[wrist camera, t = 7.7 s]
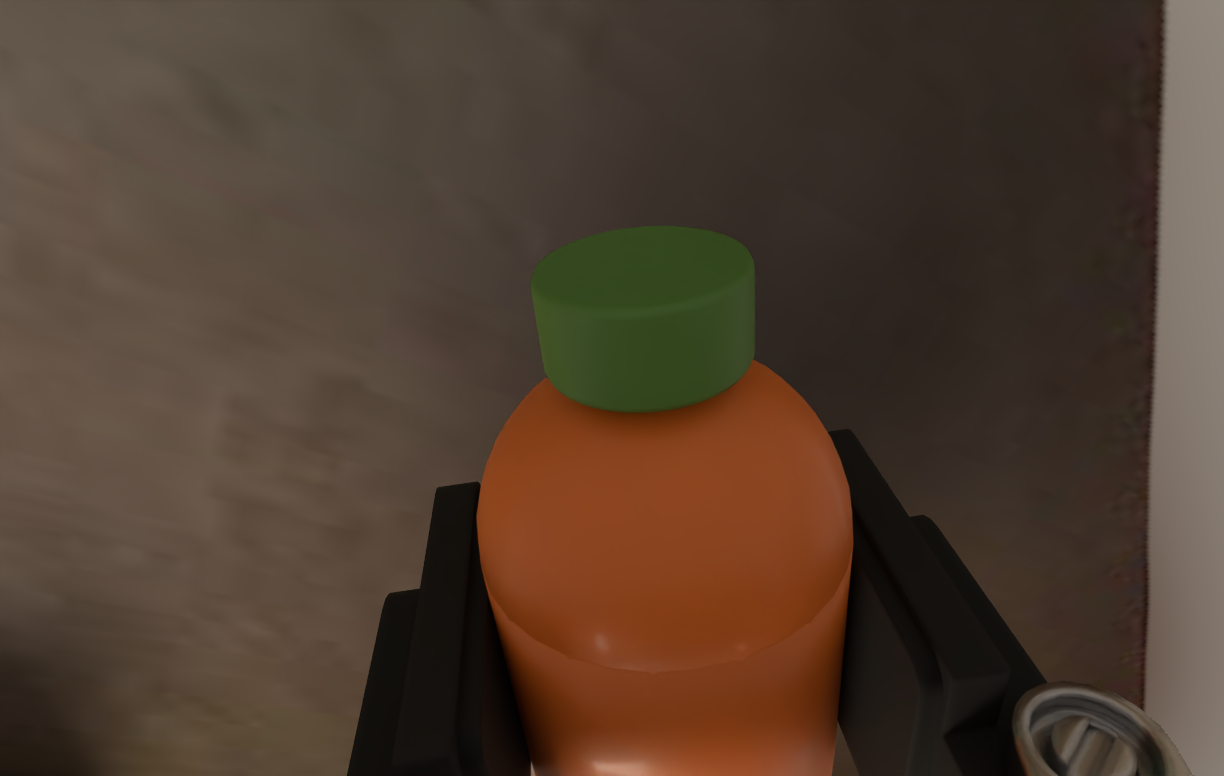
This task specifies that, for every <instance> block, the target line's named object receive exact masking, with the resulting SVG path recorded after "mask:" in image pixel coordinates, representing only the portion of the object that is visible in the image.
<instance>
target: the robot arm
mask: <svg viewBox="0 0 1224 776" xmlns="http://www.w3.org/2000/svg"><path fill="white" fill-rule="evenodd" d="M828 434H829V435H830V437H831V439H832V441H833V443H834V446H835V448H836V450H837V453H838V455H839V457H840V460H841V463H842V466H843V469H844V472H845V475H846V479H847V482H848V485H849V489H850V498H851V507H852V522H853V553H852V564H851V575H850V586H849V597H848V608H847V619H846V630H845V641H844V652H843V663H842V674H841V685H840V697H839V708H838V719H837V720H838V722H839V725H840V727H841V730H842V732H843V735H844V737H845V740H846V742H847V745H848V747H849V750H850V752H851V755H852V757H853V760H854V762H855V765H856V767H857V770H858V772H859V775H860V776H1193V775H1192V773H1191V771H1190V770H1189V768H1188V766H1187V765H1186V763H1185V761H1184V759H1183V758H1182V756H1181V754H1180V753H1179V751H1178V749H1177V748H1176V746H1175V745H1174V743H1173V742H1172V741H1171V739H1170V738H1169V737H1168V736H1167V734H1166V733H1165V732H1164V730H1163V729H1162V728H1161V726H1160V725H1159V724H1158V723H1156V722H1155V721H1154V720H1153V719H1152V718H1150V717H1149V716H1148V715H1147V714H1146V713H1145V712H1143V711H1142V710H1141V709H1140V708H1139V707H1137V706H1136V705H1134V704H1132V703H1130V702H1128V701H1127V700H1125V699H1123V698H1121V697H1120V696H1118V695H1116V694H1114V693H1112V692H1109V691H1106V690H1103V689H1101V688H1098V687H1095V686H1092V685H1089V684H1083V683H1075V682H1067V681H1060V682H1052V683H1047V681H1046V680H1045V679H1044V677H1043V676H1042V674H1041V673H1040V672H1039V670H1038V669H1037V667H1036V666H1035V664H1034V663H1033V662H1032V660H1031V659H1030V657H1029V656H1028V654H1027V653H1026V652H1025V650H1024V649H1023V647H1022V646H1021V645H1020V643H1019V642H1018V640H1017V639H1016V637H1015V636H1014V635H1013V633H1012V632H1011V630H1010V629H1009V627H1008V626H1007V625H1006V623H1005V622H1004V620H1003V619H1002V618H1001V616H1000V615H999V613H998V612H997V610H996V609H995V608H994V606H993V605H992V603H991V602H990V601H989V599H988V598H987V596H986V595H985V593H984V592H983V591H982V589H981V588H980V586H979V585H978V583H977V582H976V581H975V579H974V578H973V576H972V575H971V574H970V572H969V571H968V569H967V568H966V566H965V565H964V564H963V562H962V561H961V559H960V558H959V557H958V555H957V554H956V552H955V551H954V549H953V548H952V547H951V545H950V544H949V542H948V541H947V539H946V538H945V537H944V535H943V534H942V532H941V531H940V530H939V528H938V527H937V526H936V524H935V523H934V522H933V521H932V520H931V519H930V518H928V517H926V516H924V515H919V516H913V517H909V516H908V514H907V513H906V511H905V510H904V508H903V507H902V505H901V504H900V502H899V501H898V499H897V498H896V496H895V495H894V493H893V492H892V490H891V489H890V487H889V486H888V484H887V483H886V481H885V480H884V478H883V477H882V475H881V474H880V472H879V471H878V469H877V468H876V466H875V465H874V463H873V462H872V460H871V459H870V457H869V456H868V454H867V453H866V451H865V450H864V448H863V447H862V445H861V444H860V442H859V441H858V439H857V438H856V436H855V435H854V433H853V432H852V431H851V430H849V429H844V430H837V431H830V432H828ZM480 488H481V485H480V483H479V482H471V483H464V484H457V485H450V486H443V487H438V488H437V490H436V493H435V499H434V505H433V512H432V518H431V524H430V530H429V536H428V542H427V549H426V555H425V561H424V567H423V573H422V580H421V586H420V589H414V590H408V591H401V592H394V593H389V595H388V596H387V597H386V599H385V602H384V606H383V609H382V614H381V618H380V623H379V628H378V632H377V637H376V642H375V646H374V651H373V656H372V661H371V665H370V670H369V675H368V679H367V684H366V689H365V693H364V698H363V703H362V707H361V712H360V717H359V721H358V726H357V731H356V736H355V740H354V745H353V750H352V754H351V759H350V764H349V768H348V773H347V776H535V774H534V770H533V766H532V762H531V758H530V754H529V751H528V747H527V743H526V739H525V735H524V731H523V727H522V723H521V720H520V716H519V712H518V708H517V704H516V700H515V696H514V693H513V689H512V685H511V681H510V677H509V673H508V669H507V665H506V662H505V658H504V654H503V650H502V646H501V642H500V638H499V634H498V631H497V627H496V623H495V619H494V615H493V611H492V607H491V603H490V600H489V596H488V592H487V588H486V584H485V580H484V576H483V572H482V568H481V562H480V552H479V543H478V531H477V510H478V502H479V495H480Z"/></svg>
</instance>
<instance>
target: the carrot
mask: <svg viewBox="0 0 1224 776" xmlns="http://www.w3.org/2000/svg"><path fill="white" fill-rule="evenodd" d="M530 288H531V294H532V300H533V306H534V312H535V318H536V324H537V330H538V336H539V342H540V348H541V354H542V359H543V365H544V371H545V373H546V375H547V378H545V379H544V380H543V381H541V382H540V383H539V384H537V385H536V386H535V387H534V388H533V389H532V390H531V391H530V392H529V393H528V395H527V396H526V397H525V398H524V399H523V400H522V402H521V403H520V404H519V405H518V407H517V408H516V409H515V411H514V412H513V413H512V415H511V416H510V417H509V419H508V420H507V421H506V423H505V425H504V427H503V428H502V430H501V432H500V434H499V436H498V437H497V439H496V442H495V444H494V447H493V449H492V451H491V454H490V456H489V459H488V461H487V464H486V466H485V470H484V475H483V479H482V483H481V488H480V495H479V502H478V510H477V531H478V543H479V552H480V562H481V568H482V572H483V576H484V580H485V584H486V588H487V592H488V596H489V600H490V603H491V607H492V611H493V615H494V619H495V623H496V627H497V631H498V634H499V638H500V642H501V646H502V650H503V654H504V658H505V662H506V665H507V669H508V673H509V677H510V681H511V685H512V689H513V693H514V696H515V700H516V704H517V708H518V712H519V716H520V720H521V723H522V727H523V731H524V735H525V739H526V743H527V747H528V751H529V754H530V758H531V762H532V766H533V770H534V774H535V776H831V775H832V768H833V760H834V752H835V741H836V730H837V719H838V708H839V697H840V685H841V674H842V663H843V652H844V641H845V630H846V619H847V608H848V597H849V586H850V575H851V564H852V553H853V522H852V507H851V498H850V489H849V485H848V482H847V479H846V475H845V472H844V469H843V466H842V463H841V460H840V457H839V455H838V453H837V450H836V448H835V446H834V443H833V441H832V439H831V437H830V435H829V434H828V432H827V431H826V429H825V428H824V426H823V424H822V423H821V421H820V420H819V418H818V417H817V415H816V413H815V412H814V411H813V410H812V408H811V407H810V406H809V405H808V404H807V402H806V401H805V400H804V399H803V397H802V396H801V395H799V394H798V393H797V392H796V391H795V390H794V389H793V388H792V387H791V386H790V385H789V384H788V383H786V382H785V381H784V380H783V379H782V378H781V377H780V376H778V375H777V374H776V373H774V372H773V371H772V370H771V369H769V368H768V367H767V366H765V365H763V364H761V363H759V362H757V361H755V360H753V358H754V353H755V265H754V261H753V259H752V257H751V255H750V253H749V251H748V249H747V248H746V247H745V246H744V245H743V244H741V243H740V242H738V241H737V240H735V239H733V238H731V237H729V236H726V235H723V234H720V233H717V232H713V231H709V230H704V229H698V228H690V227H680V226H644V227H633V228H625V229H618V230H613V231H608V232H603V233H599V234H595V235H592V236H589V237H585V238H582V239H579V240H577V241H574V242H571V243H569V244H567V245H565V246H562V247H560V248H558V249H557V250H555V251H553V252H551V253H550V254H549V255H547V256H546V257H545V258H543V259H542V260H541V261H540V262H539V263H538V265H537V266H536V267H535V269H534V271H533V274H532V278H531V283H530Z"/></svg>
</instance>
